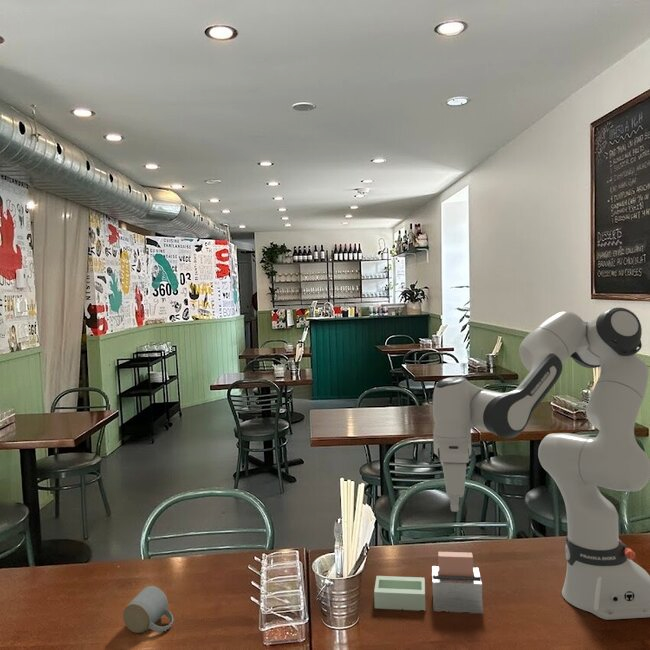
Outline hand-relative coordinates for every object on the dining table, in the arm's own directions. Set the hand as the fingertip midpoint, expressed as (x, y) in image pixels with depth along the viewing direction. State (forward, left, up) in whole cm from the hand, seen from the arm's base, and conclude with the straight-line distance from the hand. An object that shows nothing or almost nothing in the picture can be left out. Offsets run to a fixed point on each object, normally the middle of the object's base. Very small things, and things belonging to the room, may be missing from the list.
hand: (453, 503), depth 137 cm
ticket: (0, 0, -22) cm, 22 cm away
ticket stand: (+13, 0, -24) cm, 28 cm away
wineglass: (+29, -19, -25) cm, 43 cm away
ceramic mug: (+71, +16, -25) cm, 77 cm away
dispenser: (0, 0, -24) cm, 24 cm away
